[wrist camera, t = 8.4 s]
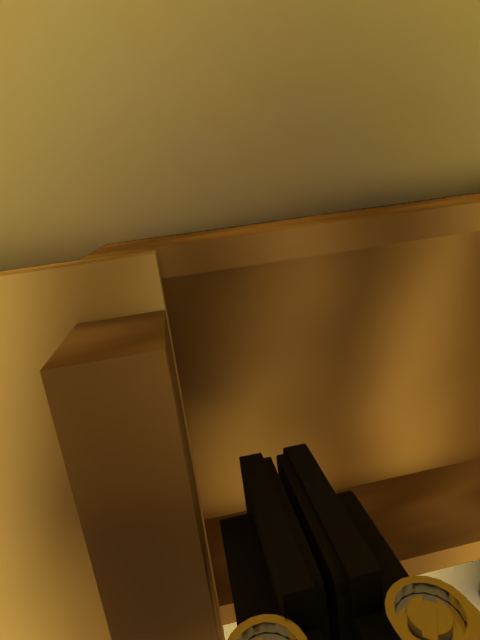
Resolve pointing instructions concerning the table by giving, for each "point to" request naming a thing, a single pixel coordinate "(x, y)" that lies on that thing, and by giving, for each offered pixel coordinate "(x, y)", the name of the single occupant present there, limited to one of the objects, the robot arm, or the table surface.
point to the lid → (97, 461)
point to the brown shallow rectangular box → (336, 364)
